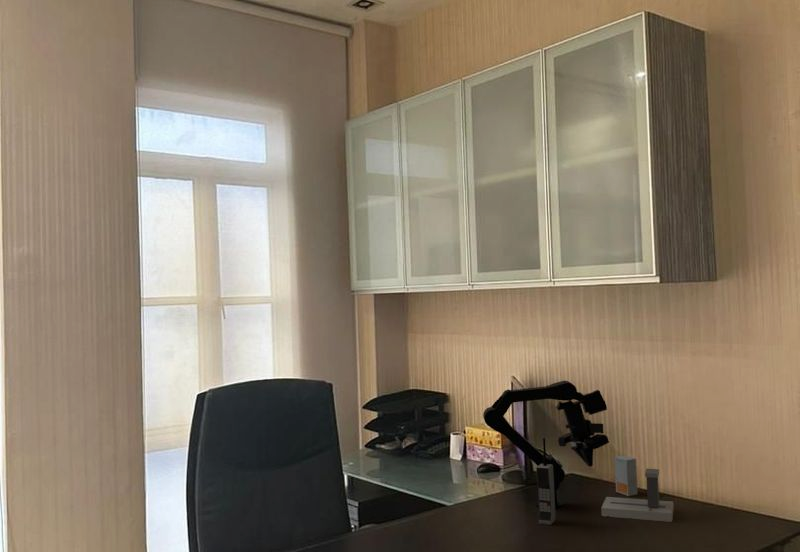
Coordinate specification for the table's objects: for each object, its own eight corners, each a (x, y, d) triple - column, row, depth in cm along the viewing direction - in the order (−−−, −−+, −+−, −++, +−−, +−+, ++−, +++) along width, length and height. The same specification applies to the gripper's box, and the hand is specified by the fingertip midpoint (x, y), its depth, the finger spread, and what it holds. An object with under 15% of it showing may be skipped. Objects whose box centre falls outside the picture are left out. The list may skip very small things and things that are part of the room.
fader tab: (646, 507, 213) (645, 473, 213) (648, 501, 218) (646, 468, 218) (659, 508, 211) (657, 473, 212) (660, 502, 216) (658, 469, 217)
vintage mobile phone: (538, 523, 210) (534, 439, 211) (543, 518, 214) (539, 436, 215) (551, 525, 208) (547, 440, 209) (555, 520, 213) (551, 436, 213)
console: (601, 516, 215) (601, 507, 215) (606, 504, 226) (606, 496, 226) (672, 522, 207) (671, 513, 207) (673, 509, 218) (673, 501, 218)
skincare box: (615, 492, 239) (613, 456, 239) (625, 490, 241) (623, 454, 241) (628, 496, 234) (626, 460, 234) (638, 494, 235) (636, 458, 236)
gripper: (613, 411, 222) (629, 458, 222) (576, 410, 239) (590, 455, 238) (587, 423, 217) (603, 472, 217) (550, 422, 234) (565, 467, 234)
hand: (590, 466), depth 227 cm, fingers closed
